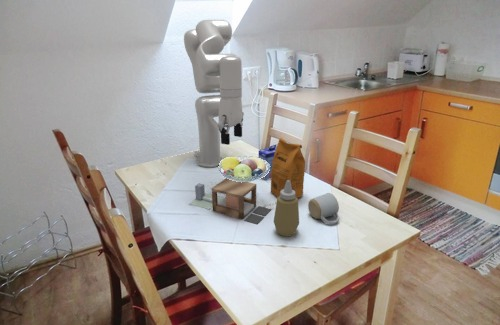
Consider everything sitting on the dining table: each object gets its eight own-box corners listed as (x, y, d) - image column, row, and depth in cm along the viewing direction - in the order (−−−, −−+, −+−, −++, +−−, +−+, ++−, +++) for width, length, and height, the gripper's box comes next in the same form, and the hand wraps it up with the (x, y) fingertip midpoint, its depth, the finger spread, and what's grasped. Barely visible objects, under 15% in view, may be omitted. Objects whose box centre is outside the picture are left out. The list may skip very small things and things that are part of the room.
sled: (192, 201, 131) (191, 188, 129) (203, 193, 137) (202, 180, 135) (244, 216, 121) (244, 202, 119) (253, 207, 127) (254, 193, 125)
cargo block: (225, 205, 126) (225, 194, 124) (232, 200, 129) (232, 189, 128) (236, 208, 124) (236, 197, 122) (243, 203, 127) (243, 192, 126)
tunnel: (212, 211, 125) (211, 188, 122) (227, 198, 134) (227, 177, 130) (242, 219, 120) (242, 196, 117) (256, 206, 129) (256, 183, 125)
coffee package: (285, 185, 145) (287, 134, 136) (306, 197, 135) (310, 142, 127) (266, 191, 139) (267, 138, 131) (286, 204, 130) (289, 148, 122)
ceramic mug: (305, 213, 124) (307, 194, 121) (324, 208, 128) (326, 189, 125) (325, 228, 115) (327, 208, 112) (344, 222, 119) (347, 202, 116)
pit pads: (244, 220, 120) (244, 220, 119) (258, 206, 129) (258, 205, 128) (257, 224, 117) (257, 223, 117) (271, 209, 126) (271, 209, 126)
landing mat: (189, 203, 130) (189, 203, 130) (204, 192, 138) (204, 192, 138) (209, 209, 126) (209, 209, 126) (224, 198, 134) (224, 197, 134)
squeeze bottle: (291, 242, 108) (294, 189, 101) (268, 234, 112) (270, 182, 105) (302, 229, 115) (306, 179, 108) (280, 222, 119) (282, 173, 112)
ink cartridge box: (265, 180, 149) (266, 148, 143) (257, 176, 153) (257, 145, 147) (282, 174, 155) (283, 143, 149) (273, 170, 159) (274, 140, 153)
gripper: (233, 88, 131) (233, 132, 138) (208, 96, 117) (210, 145, 123) (251, 90, 128) (251, 135, 135) (228, 98, 114) (229, 148, 120)
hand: (231, 140), depth 129 cm, fingers open, 9 cm apart
